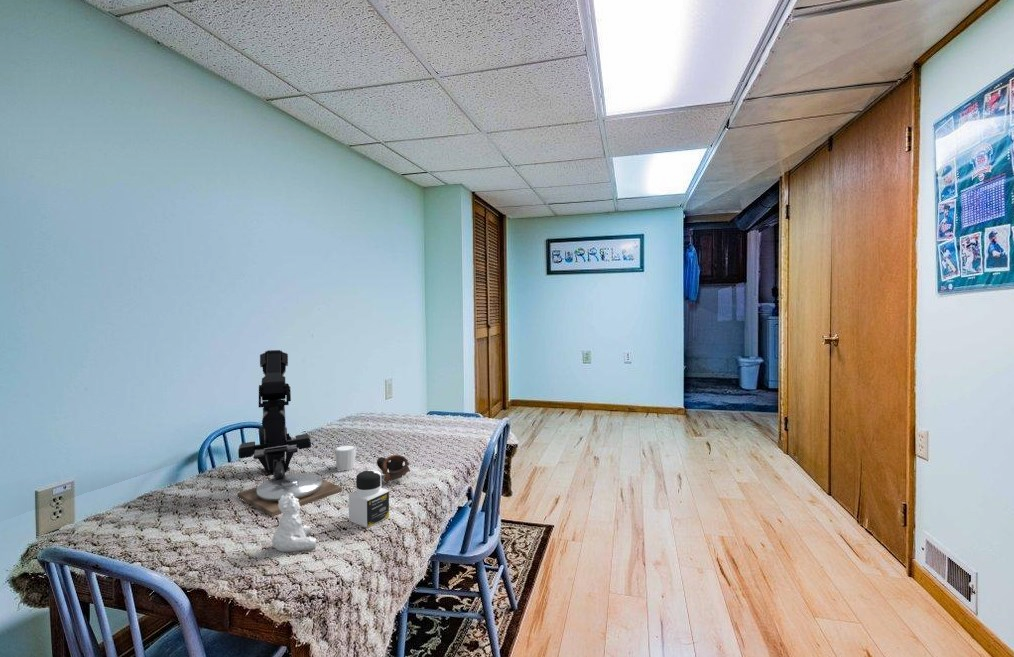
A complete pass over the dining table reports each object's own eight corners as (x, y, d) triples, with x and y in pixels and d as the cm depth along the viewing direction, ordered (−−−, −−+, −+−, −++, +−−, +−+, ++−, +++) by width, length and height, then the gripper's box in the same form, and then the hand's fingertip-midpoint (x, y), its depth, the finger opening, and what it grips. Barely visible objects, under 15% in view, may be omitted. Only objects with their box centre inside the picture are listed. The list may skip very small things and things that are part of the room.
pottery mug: (415, 474, 144) (415, 457, 139) (400, 497, 136) (399, 479, 132) (384, 461, 147) (383, 444, 142) (367, 483, 139) (365, 465, 135)
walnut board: (237, 497, 124) (237, 493, 124) (305, 476, 140) (305, 472, 140) (272, 516, 112) (272, 512, 112) (341, 491, 128) (341, 487, 128)
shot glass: (342, 473, 143) (342, 452, 142) (330, 469, 147) (330, 448, 147) (360, 467, 148) (360, 447, 148) (349, 463, 152) (348, 443, 152)
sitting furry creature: (318, 549, 97) (318, 495, 97) (275, 561, 92) (274, 505, 92) (309, 531, 105) (309, 482, 104) (268, 542, 100) (268, 490, 99)
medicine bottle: (367, 528, 106) (367, 480, 106) (348, 521, 110) (347, 474, 110) (389, 517, 112) (389, 471, 112) (370, 510, 116) (370, 465, 116)
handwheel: (272, 507, 114) (272, 481, 114) (246, 490, 125) (246, 466, 125) (333, 487, 127) (333, 463, 127) (305, 473, 138) (305, 451, 138)
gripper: (307, 411, 141) (309, 458, 142) (239, 419, 132) (242, 469, 133) (309, 420, 131) (312, 471, 132) (236, 430, 122) (240, 484, 124)
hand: (277, 473), depth 131 cm, fingers open, 4 cm apart
